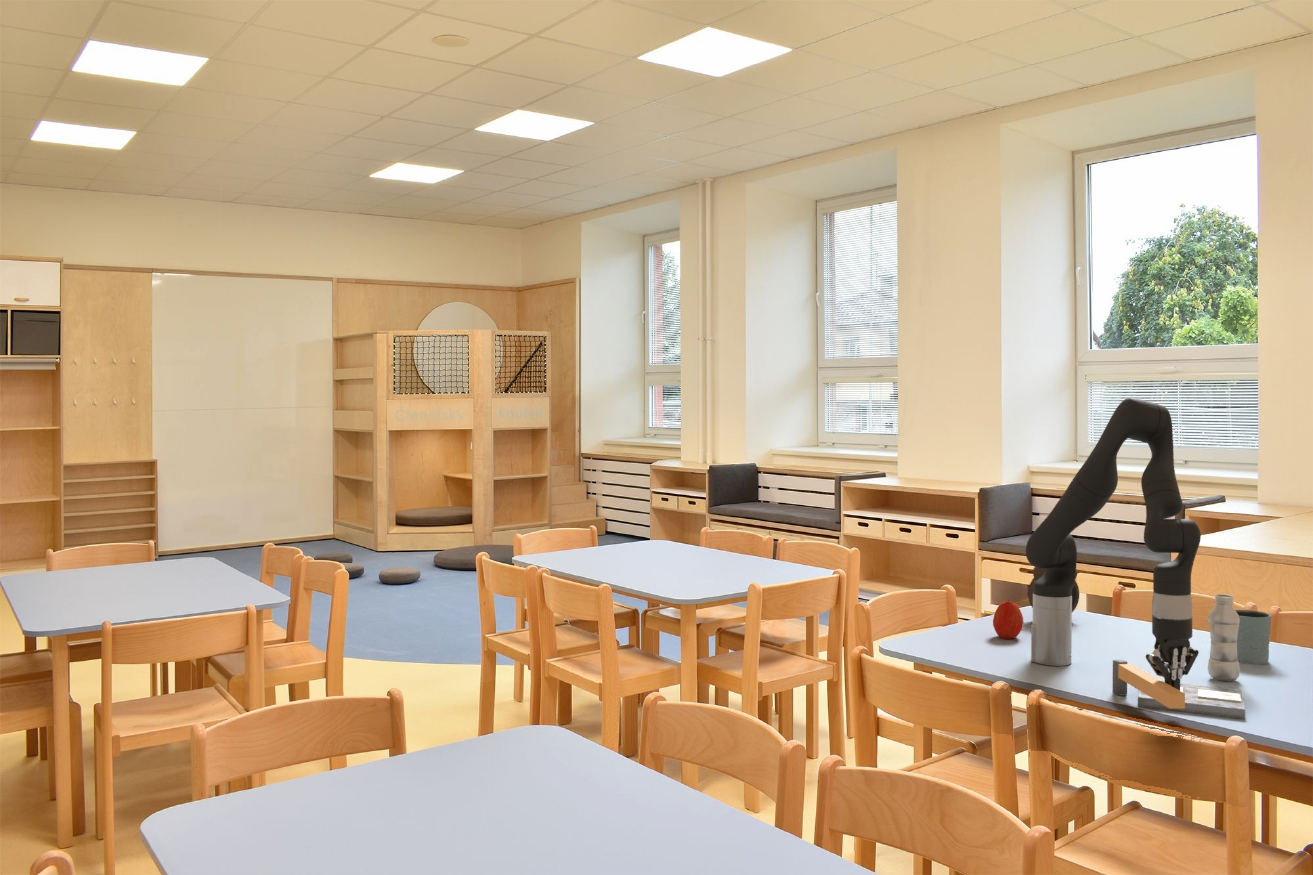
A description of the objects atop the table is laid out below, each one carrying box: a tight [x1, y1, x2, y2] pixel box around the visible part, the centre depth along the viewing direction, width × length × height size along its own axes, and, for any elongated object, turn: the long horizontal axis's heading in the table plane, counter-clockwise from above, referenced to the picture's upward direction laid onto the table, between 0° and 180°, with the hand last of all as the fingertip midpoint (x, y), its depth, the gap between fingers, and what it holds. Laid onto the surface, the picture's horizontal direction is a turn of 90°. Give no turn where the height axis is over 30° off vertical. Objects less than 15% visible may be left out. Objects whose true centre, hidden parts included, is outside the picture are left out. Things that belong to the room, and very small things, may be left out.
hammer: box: [1112, 659, 1185, 709], centre depth 216 cm, size 27×3×7 cm, turn 179°
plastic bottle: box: [1207, 593, 1241, 682], centre depth 239 cm, size 6×7×20 cm
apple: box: [992, 599, 1024, 640], centre depth 284 cm, size 8×8×11 cm
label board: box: [1137, 682, 1246, 720], centre depth 221 cm, size 20×16×2 cm
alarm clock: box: [1027, 566, 1080, 613], centre depth 305 cm, size 14×7×20 cm, turn 105°
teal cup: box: [1235, 609, 1272, 665], centre depth 258 cm, size 10×10×12 cm
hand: (1172, 696), depth 212 cm, fingers closed
